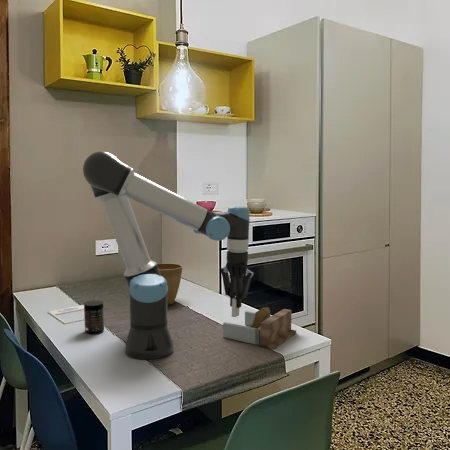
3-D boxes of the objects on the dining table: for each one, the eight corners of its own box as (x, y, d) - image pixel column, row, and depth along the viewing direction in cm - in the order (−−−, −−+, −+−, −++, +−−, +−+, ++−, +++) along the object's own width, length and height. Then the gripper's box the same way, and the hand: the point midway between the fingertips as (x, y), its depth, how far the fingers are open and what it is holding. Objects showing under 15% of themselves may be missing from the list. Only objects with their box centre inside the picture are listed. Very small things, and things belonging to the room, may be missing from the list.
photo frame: (83, 304, 198) (101, 314, 184) (83, 307, 198) (101, 317, 184) (47, 311, 188) (64, 322, 175) (47, 313, 188) (64, 325, 175)
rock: (253, 336, 156) (278, 328, 161) (243, 312, 160) (268, 305, 164) (243, 346, 165) (267, 338, 169) (234, 323, 169) (258, 316, 173)
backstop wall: (273, 349, 151) (274, 325, 150) (259, 346, 154) (260, 322, 153) (296, 333, 166) (296, 311, 165) (283, 330, 169) (283, 308, 168)
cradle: (259, 345, 155) (259, 330, 154) (223, 337, 162) (223, 322, 162) (280, 330, 169) (280, 317, 168) (246, 323, 176) (246, 310, 175)
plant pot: (189, 302, 203) (189, 266, 201) (161, 309, 193) (161, 271, 191) (168, 295, 214) (168, 261, 212) (141, 302, 204) (140, 265, 202)
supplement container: (108, 331, 168) (107, 302, 166) (92, 336, 162) (91, 306, 161) (96, 327, 172) (96, 299, 171) (80, 331, 167) (79, 303, 165)
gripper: (259, 251, 165) (256, 316, 168) (227, 247, 172) (225, 310, 174) (248, 254, 159) (246, 322, 161) (216, 249, 165) (214, 315, 168)
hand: (235, 315), depth 168 cm, fingers closed
